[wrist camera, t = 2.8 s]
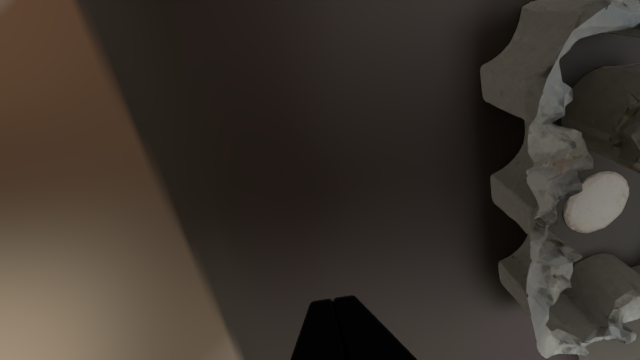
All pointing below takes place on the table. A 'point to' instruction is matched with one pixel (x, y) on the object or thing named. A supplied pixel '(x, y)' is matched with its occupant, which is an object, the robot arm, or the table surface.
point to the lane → (615, 347)
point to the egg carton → (567, 171)
